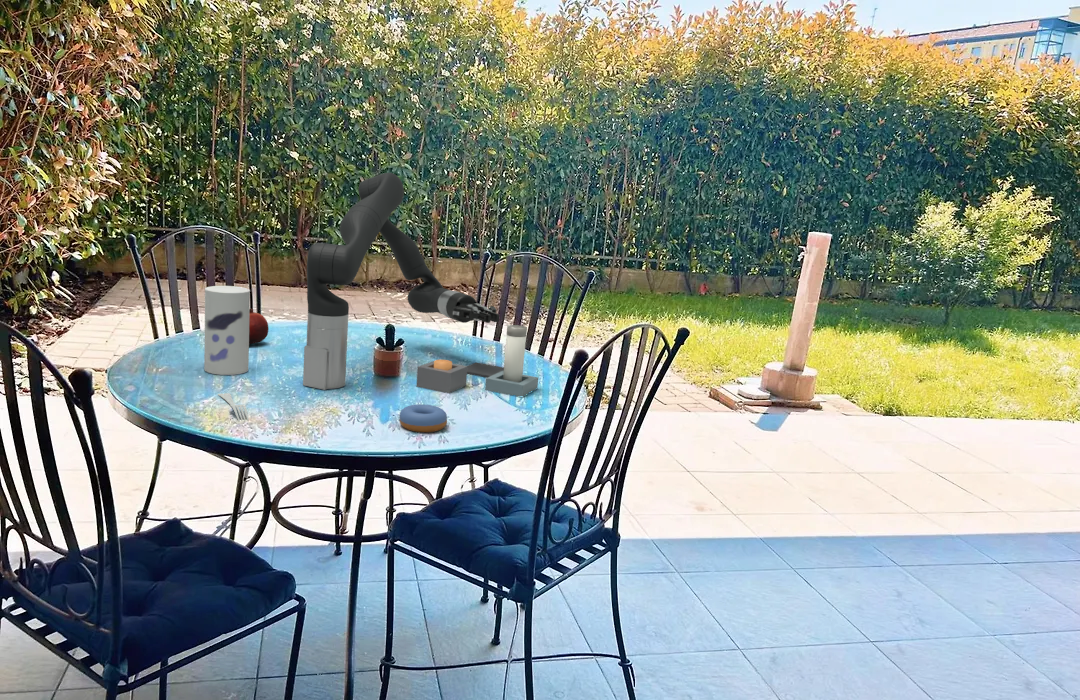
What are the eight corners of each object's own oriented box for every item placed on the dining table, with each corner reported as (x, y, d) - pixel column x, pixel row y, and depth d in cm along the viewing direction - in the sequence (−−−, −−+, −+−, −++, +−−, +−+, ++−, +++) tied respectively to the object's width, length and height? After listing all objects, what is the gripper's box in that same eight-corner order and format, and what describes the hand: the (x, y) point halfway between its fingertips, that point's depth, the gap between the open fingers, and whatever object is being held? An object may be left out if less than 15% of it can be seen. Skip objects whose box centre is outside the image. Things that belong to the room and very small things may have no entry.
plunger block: (449, 393, 201) (450, 373, 200) (416, 386, 204) (417, 366, 203) (466, 385, 209) (467, 366, 208) (434, 379, 212) (435, 360, 211)
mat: (495, 379, 218) (495, 376, 218) (457, 371, 222) (457, 369, 222) (512, 371, 228) (512, 369, 228) (475, 364, 232) (475, 362, 232)
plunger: (445, 387, 204) (446, 364, 202) (429, 384, 205) (430, 361, 204) (453, 384, 208) (455, 361, 206) (438, 381, 209) (439, 358, 208)
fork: (229, 404, 185) (229, 392, 185) (251, 422, 168) (251, 408, 167) (216, 405, 184) (216, 393, 184) (236, 423, 166) (236, 410, 166)
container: (205, 375, 196) (206, 291, 192) (203, 365, 205) (203, 284, 201) (250, 375, 200) (251, 292, 196) (246, 364, 209) (247, 285, 205)
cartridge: (516, 393, 207) (522, 329, 203) (498, 389, 208) (504, 326, 205) (524, 389, 211) (530, 327, 208) (506, 385, 213) (512, 324, 209)
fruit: (224, 347, 225) (224, 310, 223) (229, 339, 234) (230, 304, 232) (266, 349, 227) (266, 312, 225) (269, 341, 236) (270, 306, 234)
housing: (522, 397, 203) (523, 385, 203) (484, 390, 207) (485, 378, 206) (537, 388, 212) (538, 377, 212) (501, 381, 216) (502, 370, 215)
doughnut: (388, 426, 172) (391, 404, 171) (414, 417, 181) (417, 397, 180) (429, 440, 168) (433, 419, 167) (453, 430, 178) (457, 410, 177)
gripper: (436, 292, 222) (472, 305, 209) (479, 291, 230) (516, 303, 217) (434, 320, 223) (470, 334, 210) (477, 318, 232) (514, 331, 219)
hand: (493, 318), depth 214 cm, fingers closed
